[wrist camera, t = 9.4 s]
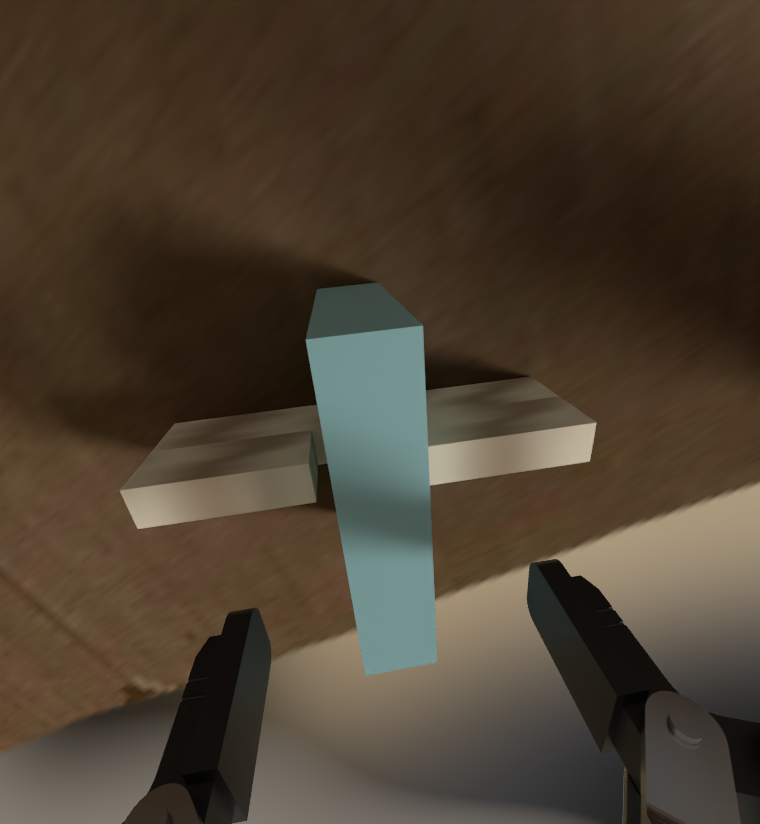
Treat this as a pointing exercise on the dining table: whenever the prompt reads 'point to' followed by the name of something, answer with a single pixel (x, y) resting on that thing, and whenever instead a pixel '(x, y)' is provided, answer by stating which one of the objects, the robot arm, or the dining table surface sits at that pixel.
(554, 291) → the dining table surface
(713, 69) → the dining table surface
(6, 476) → the dining table surface
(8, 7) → the dining table surface
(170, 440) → the maple base plate
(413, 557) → the teal cross plate
